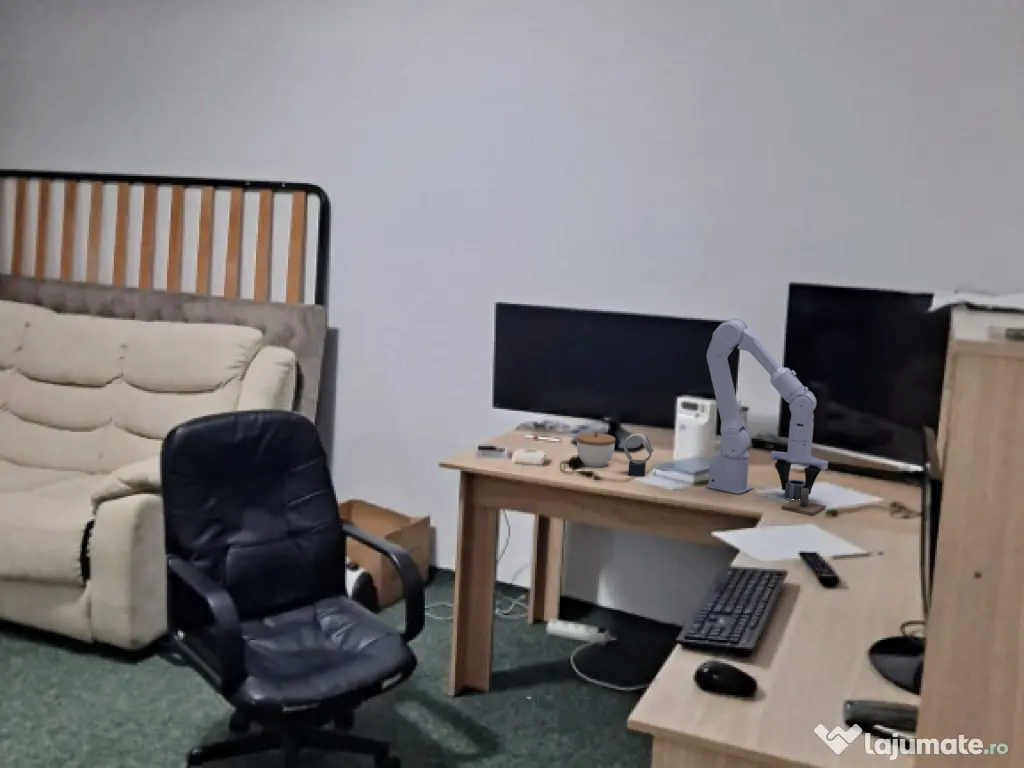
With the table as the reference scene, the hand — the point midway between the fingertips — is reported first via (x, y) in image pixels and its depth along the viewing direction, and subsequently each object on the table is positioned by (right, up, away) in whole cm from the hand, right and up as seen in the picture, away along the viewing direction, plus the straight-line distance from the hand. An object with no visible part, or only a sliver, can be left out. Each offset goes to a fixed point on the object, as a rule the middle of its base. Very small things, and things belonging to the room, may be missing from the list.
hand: (796, 491), depth 261 cm
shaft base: (-1, -3, -9) cm, 10 cm away
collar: (0, -2, 0) cm, 2 cm away
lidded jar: (-49, +5, +28) cm, 56 cm away
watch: (-38, +3, +19) cm, 43 cm away
